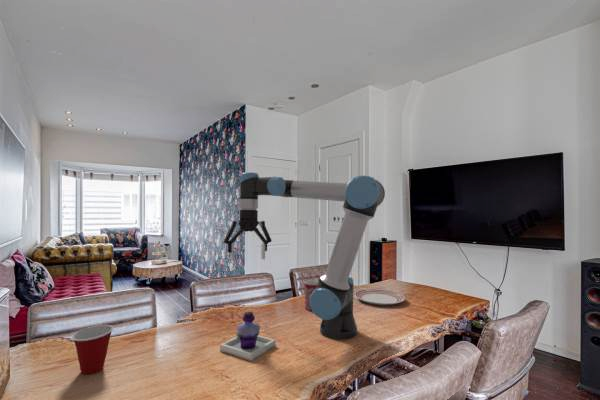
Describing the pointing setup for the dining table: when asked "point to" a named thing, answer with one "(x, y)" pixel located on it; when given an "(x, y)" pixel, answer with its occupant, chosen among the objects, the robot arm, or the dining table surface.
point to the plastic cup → (92, 347)
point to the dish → (249, 354)
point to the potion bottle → (248, 331)
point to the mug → (309, 292)
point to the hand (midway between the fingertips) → (247, 259)
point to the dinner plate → (379, 296)
